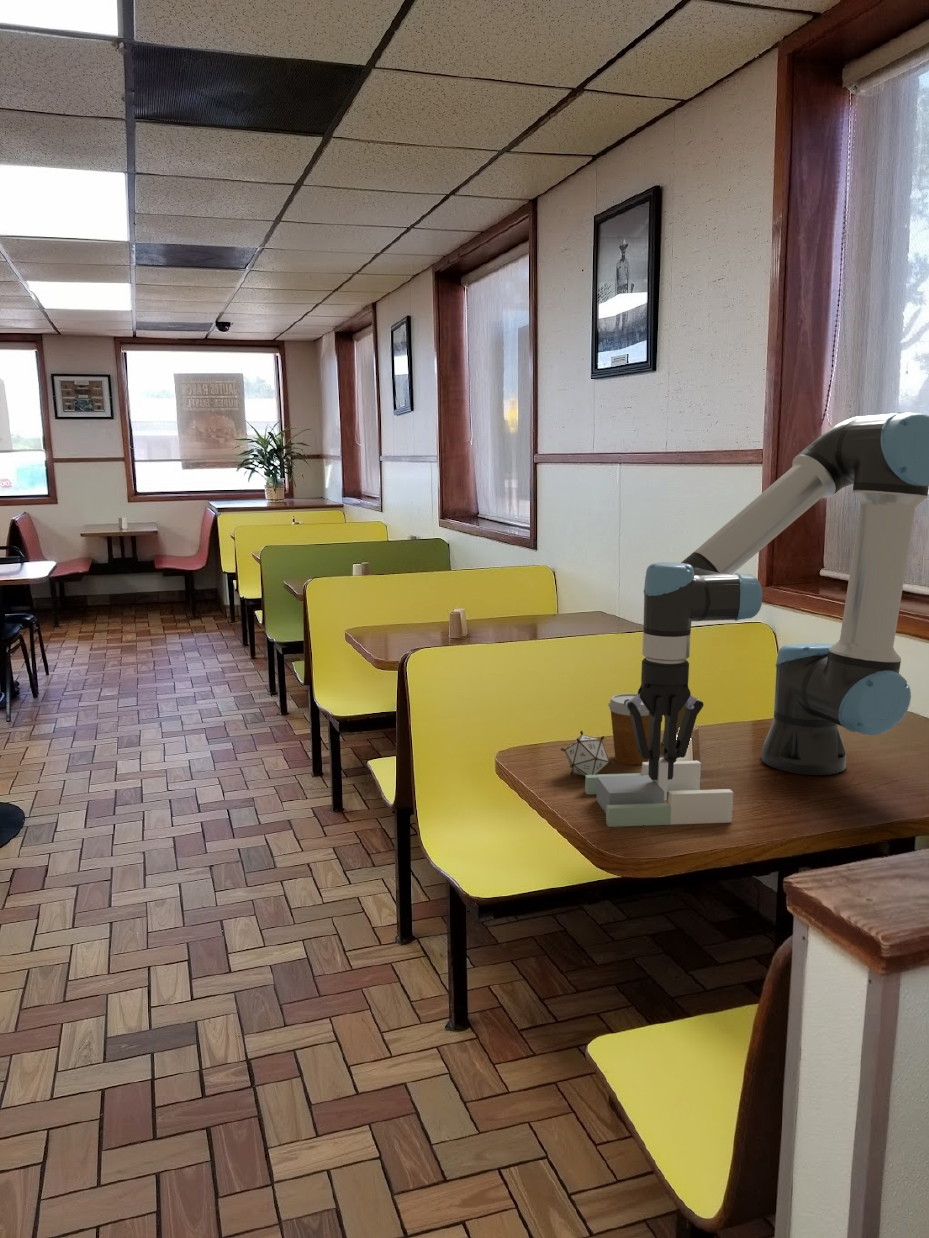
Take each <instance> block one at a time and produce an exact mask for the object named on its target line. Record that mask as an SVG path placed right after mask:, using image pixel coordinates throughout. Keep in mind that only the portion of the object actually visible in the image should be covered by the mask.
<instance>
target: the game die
mask: <svg viewBox="0 0 929 1238" xmlns="http://www.w3.org/2000/svg"><path fill="white" fill-rule="evenodd" d="M579 733H580V735H579V736H578V737H577V738H576V739H575V740H574V741H572V743H570V744H569V745H568V746H567V747H566V748H563V747H561V748H560V750H561V751H562V752H565V755H566V756H565V757H566V759H567V762H568V764H569V768H570V770H571V771H570V773H569V776H573V775H574V774H577V775H581V776H584V777H585V775H598V773H600V771H602V770H603V769H604V768H605V767H606V766H607V765H609V764H610V765H613V764H614V761H613V760H609V756H608V753H607V751H606V748H605V745H604V742H603V740H604V739H605V736H603V735H602V736H601V737H600V738H598V737H594V736H590V735H586V734H584V731H583V730H580V732H579Z"/></svg>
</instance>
